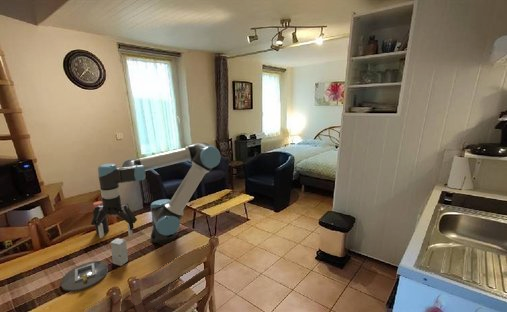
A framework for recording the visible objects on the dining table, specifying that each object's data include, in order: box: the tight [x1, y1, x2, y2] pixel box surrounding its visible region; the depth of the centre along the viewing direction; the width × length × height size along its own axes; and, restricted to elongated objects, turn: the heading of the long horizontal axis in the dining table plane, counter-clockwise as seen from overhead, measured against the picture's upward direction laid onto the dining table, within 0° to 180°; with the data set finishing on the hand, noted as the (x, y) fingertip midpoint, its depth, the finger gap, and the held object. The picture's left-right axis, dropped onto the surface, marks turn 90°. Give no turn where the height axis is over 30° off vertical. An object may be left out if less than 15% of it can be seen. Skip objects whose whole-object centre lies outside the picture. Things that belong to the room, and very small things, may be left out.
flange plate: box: [60, 260, 109, 293], centre depth 110 cm, size 18×18×6 cm
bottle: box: [92, 200, 110, 236], centre depth 146 cm, size 7×7×20 cm
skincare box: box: [110, 237, 129, 267], centre depth 119 cm, size 6×4×12 cm
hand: (116, 236), depth 117 cm, fingers open, 13 cm apart
